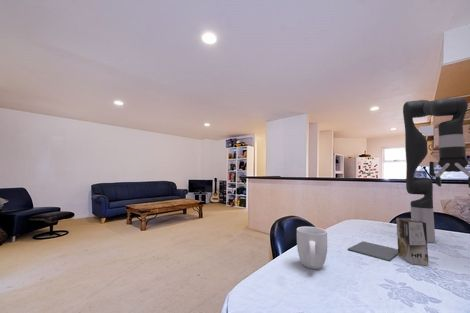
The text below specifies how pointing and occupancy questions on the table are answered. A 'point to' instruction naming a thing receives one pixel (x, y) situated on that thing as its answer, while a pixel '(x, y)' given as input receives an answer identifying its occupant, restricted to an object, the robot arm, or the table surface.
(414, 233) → the coffee box
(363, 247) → the mat
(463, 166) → the robot arm
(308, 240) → the mug
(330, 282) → the table surface
